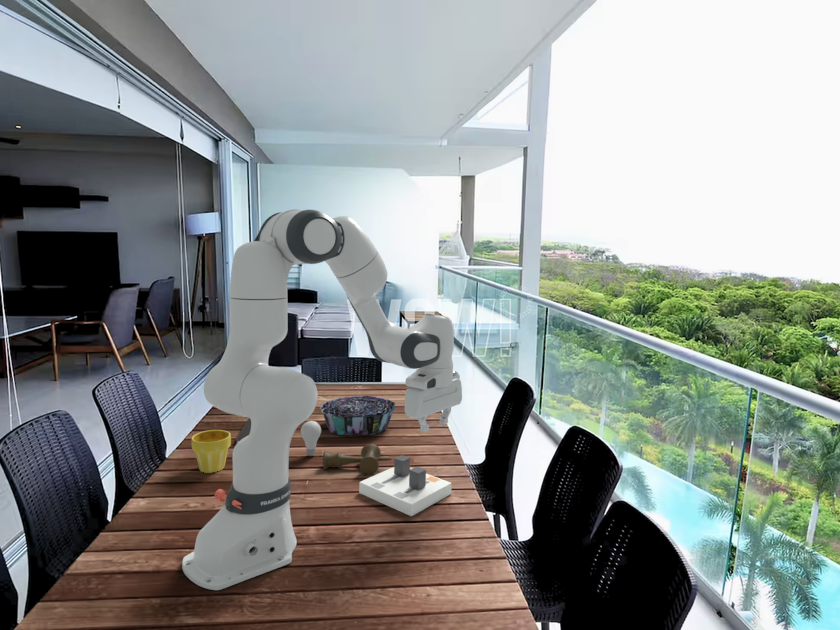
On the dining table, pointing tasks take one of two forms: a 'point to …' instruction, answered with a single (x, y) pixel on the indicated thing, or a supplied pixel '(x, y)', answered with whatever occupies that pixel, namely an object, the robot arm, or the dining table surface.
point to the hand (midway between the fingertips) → (434, 427)
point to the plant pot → (211, 449)
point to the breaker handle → (401, 465)
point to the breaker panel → (404, 491)
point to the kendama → (356, 459)
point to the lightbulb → (310, 436)
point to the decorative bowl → (357, 415)
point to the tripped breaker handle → (417, 478)
